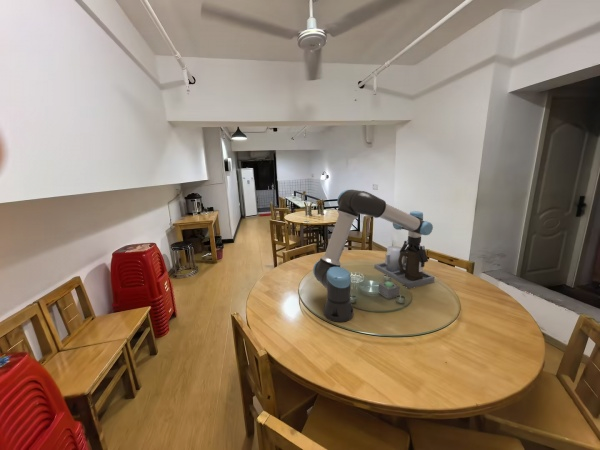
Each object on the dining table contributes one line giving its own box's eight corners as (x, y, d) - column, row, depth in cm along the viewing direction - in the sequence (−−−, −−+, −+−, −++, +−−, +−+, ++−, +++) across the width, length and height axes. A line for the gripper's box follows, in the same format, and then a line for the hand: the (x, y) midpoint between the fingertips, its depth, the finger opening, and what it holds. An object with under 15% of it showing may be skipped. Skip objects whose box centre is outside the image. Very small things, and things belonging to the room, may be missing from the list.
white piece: (405, 271, 164) (406, 249, 160) (390, 274, 160) (392, 252, 156) (394, 265, 174) (395, 245, 170) (380, 268, 169) (381, 247, 166)
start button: (393, 293, 135) (394, 283, 134) (388, 294, 134) (388, 285, 133) (388, 290, 139) (389, 281, 137) (383, 291, 137) (384, 282, 136)
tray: (434, 282, 149) (434, 277, 148) (409, 289, 142) (409, 283, 141) (396, 264, 179) (396, 259, 178) (374, 269, 171) (374, 264, 171)
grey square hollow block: (398, 296, 134) (399, 286, 133) (387, 299, 132) (388, 289, 130) (389, 289, 142) (389, 280, 140) (378, 292, 139) (378, 283, 138)
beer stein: (418, 273, 159) (419, 246, 155) (427, 280, 149) (427, 251, 144) (396, 276, 159) (395, 248, 155) (403, 283, 149) (403, 253, 144)
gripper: (436, 240, 136) (433, 273, 141) (404, 230, 159) (401, 260, 164) (427, 242, 134) (424, 276, 139) (395, 232, 156) (393, 261, 161)
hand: (412, 267), depth 151 cm, fingers open, 13 cm apart
